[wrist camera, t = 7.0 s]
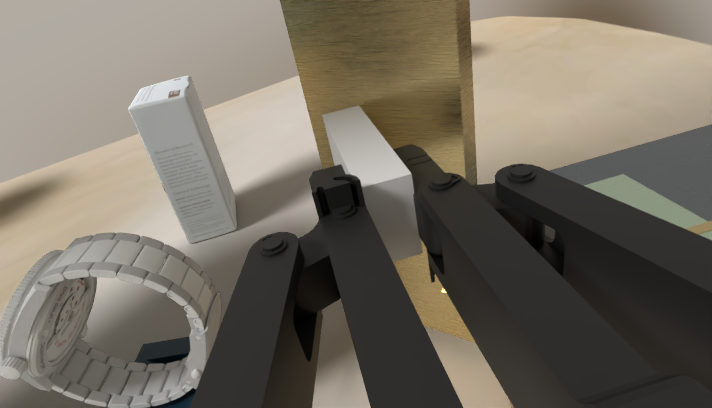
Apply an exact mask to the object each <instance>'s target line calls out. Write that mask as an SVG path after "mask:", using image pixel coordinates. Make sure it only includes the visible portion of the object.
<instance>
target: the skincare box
mask: <svg viewBox="0 0 712 408" xmlns="http://www.w3.org/2000/svg"><path fill="white" fill-rule="evenodd" d="M128 111H129V112H130V115H131V117H132V119H133V121H134V123H135V125H136V127H137V130H138V132H139V134H140V137H141V139H142V141H143V144H144V146H145V148H146V150H147V153H148V155H149V157H150V159H151V161H152V164H153V166H154V168H155V170H156V172H157V175H158V177H159V179H160V181H161V183H162V186H163V188H164V190H165V192H166V194H167V196H168V198H169V201H170V203H171V205H172V207H173V209H174V212H175V214H176V216H177V218H178V220H179V222H180V225H181V227H182V229H183V231H184V233H185V235H186V237H187V240H188V242H189V243H195V242H199V241H203V240H207V239H210V238H213V237H217V236H220V235H223V234H226V233H229V232H232V231H234V230H236V229H237V221H236V203H235V195H234V192H233V189H232V187H231V184H230V181H229V178H228V176H227V173H226V170H225V168H224V165H223V162H222V160H221V157H220V154H219V152H218V149H217V146H216V144H215V141H214V138H213V135H212V133H211V130H210V127H209V125H208V122H207V119H206V116H205V114H204V111H203V108H202V105H201V102H200V100H199V97H198V94H197V92H196V89H195V86H194V84H193V81H192V79H191V77H190V76H184V77H180V78H176V79H172V80H169V81H165V82H161V83H157V84H153V85H150V86H147V87H144V88H141V89H140V90H139V92H138V94H137V95H136V97H135V99H134V100H133V102H132V103H131V105H130V107H129V108H128Z"/></svg>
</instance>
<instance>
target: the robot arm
mask: <svg viewBox="0 0 712 408" xmlns="http://www.w3.org/2000/svg"><path fill="white" fill-rule="evenodd" d="M322 116H323V120H324V124H325V128H326V132H327V136H328V140H329V145H330V149H331V153H332V157H333V161H334V165H335V166H332V167H329V168H325V169H321V170H318V171H314V172H313V173H312V175H311V177H310V179H309V181H310V185H311V189H312V195H313V199H314V202H315V206H316V209H317V213H318V216H319V221H318V224H317V225H316V226H315V228H314V229H313V230H312V231H310V232H309V233H308V234H306V235H304V236H303V237H301V238H299V239H298V238H297V237H296V236H295V235H294V234H292V233H288V232H278V233H274V234H270V235H267V236H265V237H263V238H261V239H260V240H258V241H257V242H256V243H255V244H253V246H252V247H251V249H250V250H249V252H248V255H247V258H246V260H245V263H244V266H243V268H242V271H241V273H240V276H239V279H238V281H237V284H236V287H235V289H234V292H233V294H232V297H231V300H230V302H229V305H228V308H227V310H226V313H225V316H224V318H223V321H222V323H221V326H220V329H219V331H218V334H217V337H216V339H215V342H214V344H213V347H212V350H211V352H210V355H209V358H208V360H207V363H206V365H205V368H204V371H203V373H202V376H201V379H200V381H199V384H198V387H197V389H196V392H195V394H194V397H193V400H192V402H191V405H190V408H312V402H313V393H314V385H315V376H316V368H317V359H318V351H319V343H320V334H321V326H322V309H324V308H325V307H327V306H329V305H330V304H332V303H334V302H335V301H337V300H339V299H340V298H341V300H342V304H343V308H344V311H345V315H346V318H347V322H348V326H349V329H350V333H351V337H352V340H353V344H354V348H355V351H356V355H357V359H358V362H359V366H360V370H361V373H362V377H363V381H364V384H365V388H366V392H367V395H368V399H369V403H370V406H371V408H463V406H462V404H461V402H460V400H459V398H458V396H457V394H456V392H455V390H454V388H453V385H452V383H451V381H450V379H449V377H448V375H447V373H446V371H445V369H444V367H443V365H442V363H441V361H440V359H439V356H438V354H437V352H436V350H435V348H434V346H433V344H432V342H431V340H430V338H429V336H428V334H427V332H426V330H425V328H424V325H423V323H422V321H421V319H420V317H419V315H418V313H417V311H416V309H415V307H414V305H413V303H412V301H411V299H410V296H409V294H408V292H407V290H406V288H405V286H404V284H403V282H402V280H401V278H400V276H399V274H398V272H397V270H396V267H395V265H394V263H393V262H395V261H398V260H402V259H405V258H408V257H412V256H415V255H419V254H422V253H423V251H422V244H421V240H422V242H423V243H424V245H425V246H426V249H427V256H428V264H429V271H430V278H431V282H432V283H433V282H435V274H436V276H437V278H438V279H439V281H440V283H441V284H442V286H443V288H444V289H445V291H446V293H447V294H448V296H449V298H450V300H451V301H452V303H453V305H454V306H455V308H456V310H457V311H458V313H459V315H460V317H461V318H462V320H463V322H464V323H465V325H466V327H467V328H468V330H469V332H470V334H471V335H472V337H473V339H474V340H475V342H476V344H477V345H478V347H479V349H480V351H481V352H482V354H483V356H484V357H485V359H486V361H487V362H488V364H489V366H490V368H491V369H492V371H493V373H494V374H495V376H496V378H497V379H498V381H499V383H500V384H501V386H502V388H503V390H504V391H505V393H506V395H507V396H508V398H509V400H510V401H511V403H512V405H513V407H514V408H712V240H710V239H708V238H705V237H703V236H701V235H698V234H696V233H694V232H691V231H689V230H687V229H684V228H682V227H679V226H677V225H675V224H672V223H670V222H668V221H665V220H663V219H661V218H658V217H656V216H654V215H651V214H649V213H646V212H644V211H642V210H639V209H637V208H635V207H632V206H630V205H628V204H625V203H623V202H621V201H618V200H616V199H614V198H611V197H609V196H606V195H604V194H602V193H599V192H597V191H595V190H592V189H590V188H588V187H585V186H583V185H581V184H578V183H576V182H573V181H571V180H569V179H566V178H564V177H562V176H559V175H557V174H555V173H552V172H550V171H548V170H545V169H543V168H541V167H537V166H534V165H527V164H517V165H516V164H514V165H510V166H507V167H504V168H502V169H501V170H499V171H498V172H497V173H496V175H495V183H493V184H483V185H471V184H470V183H469V182H468V181H467V180H466V179H465V178H463V177H462V176H460V175H458V174H454V173H445V172H444V171H443V170H442V169H441V168H440V167H439V166H438V165H437V164H436V163H435V161H434V160H432V158H431V157H430V156H429V155H428V154H427V153H426V152H425V151H424V150H423V149H422V148H421V147H418V146H415V145H412V144H409V145H406V146H402V147H398V148H395V149H392V148H391V146H390V145H389V144H388V143H387V141H386V140H385V139H384V137H383V136H382V135H381V133H380V132H379V131H378V130H377V128H376V127H375V126H374V124H373V123H372V122H371V120H370V119H369V118H368V117H367V115H366V114H365V113H364V111H363V110H362V109H361V107H360V106H359V105H358V106H354V107H351V108H347V109H343V110H339V111H335V112H331V113H328V114H324V115H322ZM545 225H547V226H549V227H550V228H552V229H554V230H555V238H554V239H552V238H549V237H548V236H546V235H545Z"/></svg>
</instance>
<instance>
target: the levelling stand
mask: <svg viewBox="0 0 712 408" xmlns="http://www.w3.org/2000/svg"><path fill="white" fill-rule="evenodd" d="M550 172H552V173H555V174H557V175H559V176H562V177H564V178H566V179H569V180H571V181H573V182H576V183H578V184H581V185H583V186H585V187H588V188H590V189H592V190H595V191H597V192H599V193H602V194H604V195H606V196H609V197H611V198H614V199H616V200H618V201H621V202H623V203H625V204H628V205H630V206H632V207H635V208H637V209H639V210H642V211H644V212H646V213H649V214H651V215H654V216H656V217H658V218H661V219H663V220H665V221H668V222H670V223H672V224H675V225H677V226H679V227H682V228H684V229H687V230H689V231H691V232H694V233H696V234H698V235H701V236H703V237H705V238H708V239H710V240H712V125H708V126H705V127H701V128H698V129H694V130H691V131H687V132H684V133H680V134H677V135H673V136H670V137H666V138H663V139H659V140H656V141H652V142H649V143H645V144H642V145H638V146H635V147H631V148H628V149H624V150H621V151H617V152H614V153H610V154H607V155H603V156H600V157H596V158H593V159H589V160H586V161H582V162H579V163H575V164H571V165H568V166H564V167H561V168H557V169H554V170H550ZM545 235H546V236H548V237H549V238H552V239H554V238H555V230H554V229H552V228H550V227H549V226H547V225H545Z"/></svg>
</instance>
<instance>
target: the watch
mask: <svg viewBox="0 0 712 408" xmlns="http://www.w3.org/2000/svg"><path fill="white" fill-rule="evenodd" d="M163 246H164V247H163ZM162 248H163V249H162ZM161 249H162V250H161ZM140 252H141V253H140ZM165 259H166V261H165V263H164V264H163V262H164V260H165ZM133 263H134V264H133ZM162 264H163V266H162ZM161 266H162V268H161ZM160 268H161V270H160ZM159 270H160V272H159V274H158V275H157V273H158V271H159ZM116 276H117V277H118V279H120V280H124V281H128V282H132V283H136V284H141V283H143V281H144V285H145V286H146V287H149V288H152V289H154V290H156V291H158V292H161V293H166V292H167V291H168V292H167V296H168V297H169V298H171V299H172V300H174V301H175V302H177V303H178V304H179V305H181V306H185V307H184V310H185V311H186V312H187V315H186V316H187V319H188V321H189V324H190V327H191V333H190V336H189V337H185V338H179V339H173V340H167V341H161V342H155V343H149V344H143V346H142V348H141V350H140V352H139V354H138V356H137V358H136V360H135V362H129V363H128V365H127V361H125V360H122V359H119V358H116V357H113V356H110V357H109V358H108V355H107V354H105V353H103V352H101V351H99V350H97V349H96V348H90V345H89V344H87V343H86V342H85V341H83V340H82V339H81V338H84V337H85V335H86V333H87V329H88V328H87V320H88V317H89V314H90V312H91V309H92V305H93V302H94V298H95V293H96V286H97V277H105V278H115V277H116ZM145 277H146V279H145ZM144 279H145V280H144ZM211 283H212V282H211V280H210V278H209V277H208V275H207V274H206V273H205V271H202V268H201V267H200V266H199V265H198V264H197V263H196V262H194V261H193V260H192V259H191V258H189V257H188V256H186V257H185V254H183V253H182V252H180V251H179V250H177V249H175V248H173V247H171V246H169V245H164V243H163V242H160V241H158V240H155V239H152V238H149V237H145V236H142V237H141V238H140V236H139V235H135V234H129V233H117V234H116V233H101V234H95V235H94V236H92V235H90V236H86V237H82V238H77V239H75V240H74V241H73V242H72V243H71V244H70V245H69V247H68V248H67V249H66V250H65V251H62V250H55V251H51V252H49V253H48V254H46V255H44V256H43V257H42V258H41V259H40V260H38V262H36V264H34V266H33V267H32V268H31V269H30V270H29V271H28V273H27V274H26V275H25V277H24V278H23V280H22V281H21V283H20V284H19V286H18V287H17V289H16V291H15V293H14V294H13V296H12V298H11V300H10V302H9V304H8V306H7V309H6V311H5V313H4V316H3V319H2V321H1V325H0V376H2V377H4V378H6V379H12V380H14V379H18V378H21V379H23V380H24V381H26V382H27V383H29V384H30V385H32V386H34V387H36V388H37V389H39V390H44V391H50V390H51V389H53V390H55V391H57V392H60V393H62V392H63V393H62V394H63V395H65V396H67V397H70V398H73V399H76V400H79V401H84V399H85V397H86V396H87V394H88V392H89V394H88V396H87V398H86V400H85V403H88V404H92V405H97V406H102V407H106V406H107V404H108V406H107V407H108V408H190V405H191V402H192V400H193V397H194V394H195V392H196V389H197V387H198V384H199V381H200V379H201V376H202V373H203V371H204V368H205V365H206V363H207V360H208V358H209V355H210V352H211V350H212V347H213V344H214V342H215V339H216V337H217V334H218V329H219V325H220V319H221V298H220V293H219V292H215V288H214V285H213V284H211ZM80 337H81V338H80ZM107 358H108V360H107V361H106V359H107ZM89 361H90V363H89ZM105 361H106V363H105ZM88 363H89V364H88ZM104 363H105V364H104ZM87 365H88V366H87ZM126 366H127V367H126ZM86 367H87V368H86ZM85 368H86V370H85ZM125 368H126V369H125ZM109 369H110V371H109ZM84 370H85V371H84ZM108 371H109V373H108ZM83 372H84V373H83ZM82 373H83V375H82ZM107 373H108V375H107ZM81 375H82V376H81ZM106 375H107V377H106ZM80 377H81V378H80ZM105 377H106V379H105ZM79 378H80V380H79ZM104 379H105V381H104ZM78 380H79V381H78ZM103 381H104V383H103ZM77 382H78V383H77ZM102 383H103V384H102ZM101 384H102V386H101ZM100 386H101V388H100ZM99 388H100V390H99ZM98 390H99V391H98ZM110 398H111V399H110ZM109 400H110V401H109ZM108 402H109V403H108Z"/></svg>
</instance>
